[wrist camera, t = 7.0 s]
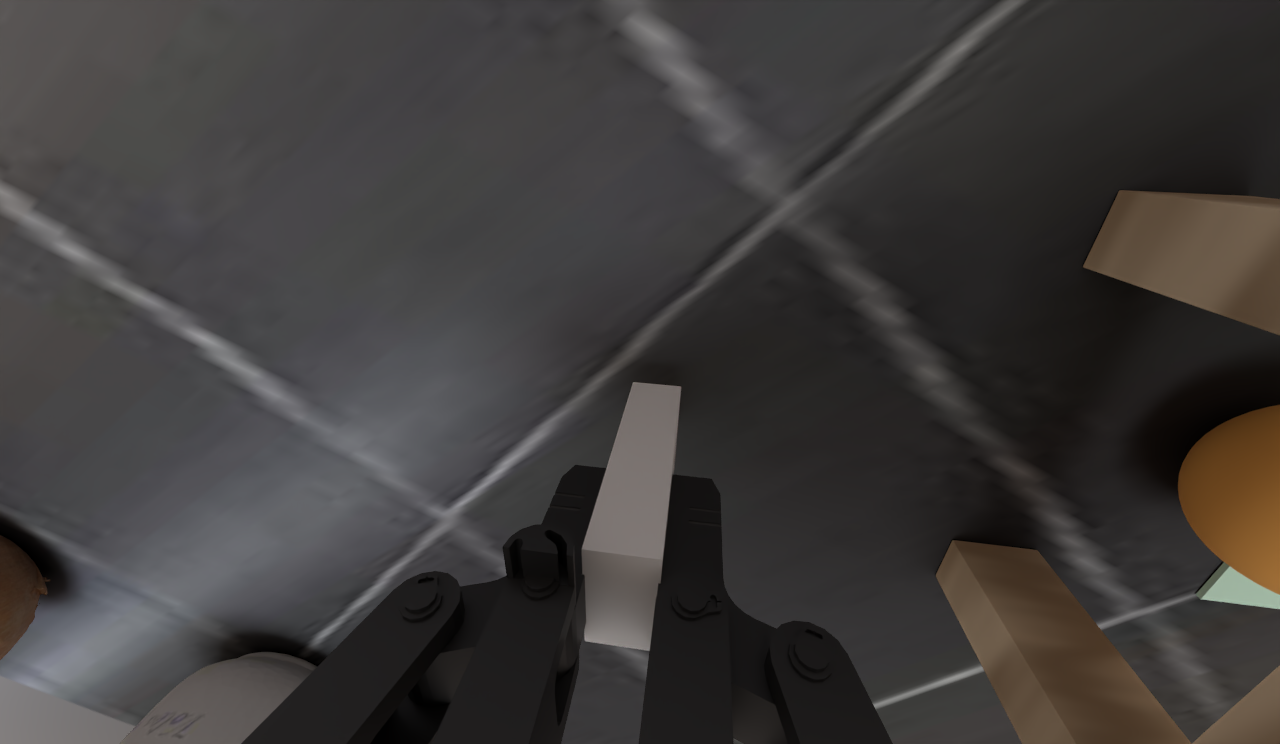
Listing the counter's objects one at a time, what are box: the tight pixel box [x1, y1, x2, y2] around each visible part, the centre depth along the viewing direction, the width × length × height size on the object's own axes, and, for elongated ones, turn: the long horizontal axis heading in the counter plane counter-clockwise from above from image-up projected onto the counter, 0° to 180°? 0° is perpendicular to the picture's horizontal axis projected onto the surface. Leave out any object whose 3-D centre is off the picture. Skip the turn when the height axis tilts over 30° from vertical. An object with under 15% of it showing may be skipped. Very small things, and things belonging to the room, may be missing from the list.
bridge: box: [936, 190, 1280, 744], centre depth 11 cm, size 3×14×9 cm, turn 178°
